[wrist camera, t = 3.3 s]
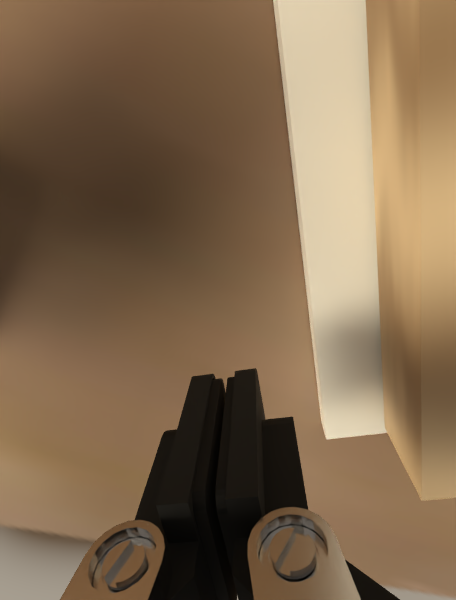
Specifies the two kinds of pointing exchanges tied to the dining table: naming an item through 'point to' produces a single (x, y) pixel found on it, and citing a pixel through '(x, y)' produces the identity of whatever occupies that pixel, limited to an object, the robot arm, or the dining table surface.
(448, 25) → the oak link
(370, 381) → the pivot board
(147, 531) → the robot arm
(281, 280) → the dining table surface
